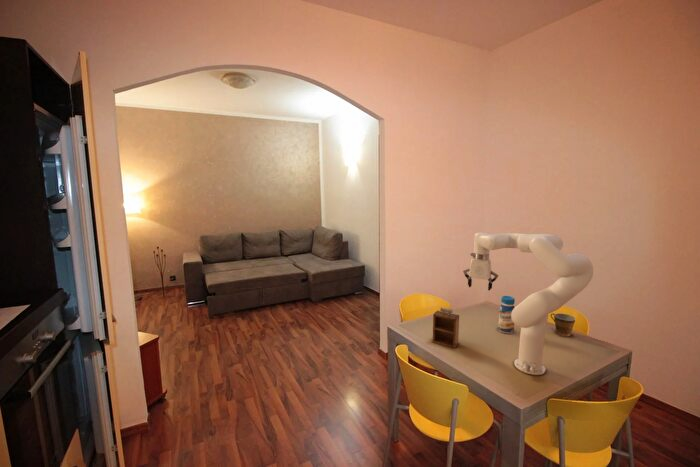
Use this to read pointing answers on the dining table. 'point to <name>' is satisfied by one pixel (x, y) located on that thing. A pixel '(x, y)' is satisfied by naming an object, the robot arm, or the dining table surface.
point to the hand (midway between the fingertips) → (479, 288)
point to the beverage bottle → (506, 315)
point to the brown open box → (445, 327)
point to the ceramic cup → (563, 323)
